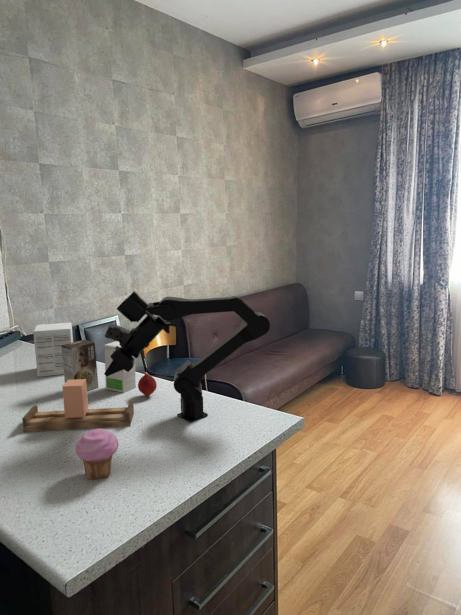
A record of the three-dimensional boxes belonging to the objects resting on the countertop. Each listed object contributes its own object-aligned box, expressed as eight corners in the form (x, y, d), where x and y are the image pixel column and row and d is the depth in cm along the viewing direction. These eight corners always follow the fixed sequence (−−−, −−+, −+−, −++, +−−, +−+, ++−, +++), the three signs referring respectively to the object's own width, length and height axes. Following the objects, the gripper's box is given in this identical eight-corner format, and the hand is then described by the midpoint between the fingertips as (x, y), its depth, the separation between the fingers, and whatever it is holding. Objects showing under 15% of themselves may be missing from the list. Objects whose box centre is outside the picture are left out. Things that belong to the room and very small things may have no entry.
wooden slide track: (133, 413, 132) (133, 400, 131) (130, 426, 123) (129, 412, 122) (34, 418, 129) (33, 405, 128) (23, 432, 120) (22, 418, 120)
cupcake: (76, 488, 93) (73, 442, 92) (79, 467, 101) (75, 425, 100) (120, 481, 95) (118, 436, 94) (119, 461, 104) (116, 420, 102)
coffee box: (88, 383, 158) (84, 339, 156) (99, 387, 154) (95, 341, 152) (64, 391, 151) (60, 344, 149) (75, 395, 147) (71, 347, 145)
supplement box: (40, 367, 179) (36, 324, 177) (75, 364, 183) (71, 321, 180) (36, 377, 167) (32, 331, 164) (74, 373, 171) (70, 328, 168)
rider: (88, 412, 128) (86, 379, 127) (84, 419, 123) (81, 385, 121) (70, 412, 128) (67, 379, 126) (65, 421, 122) (62, 386, 121)
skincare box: (105, 389, 152) (102, 344, 150) (118, 383, 158) (116, 340, 155) (124, 393, 148) (121, 347, 146) (137, 387, 154) (135, 342, 152)
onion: (158, 393, 148) (157, 369, 146) (154, 399, 142) (153, 375, 141) (141, 392, 148) (140, 369, 147) (136, 399, 143) (135, 375, 141)
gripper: (126, 308, 131) (90, 346, 132) (116, 320, 113) (74, 364, 114) (155, 333, 133) (119, 371, 134) (150, 349, 115) (108, 393, 116)
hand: (106, 374), depth 124 cm, fingers closed
